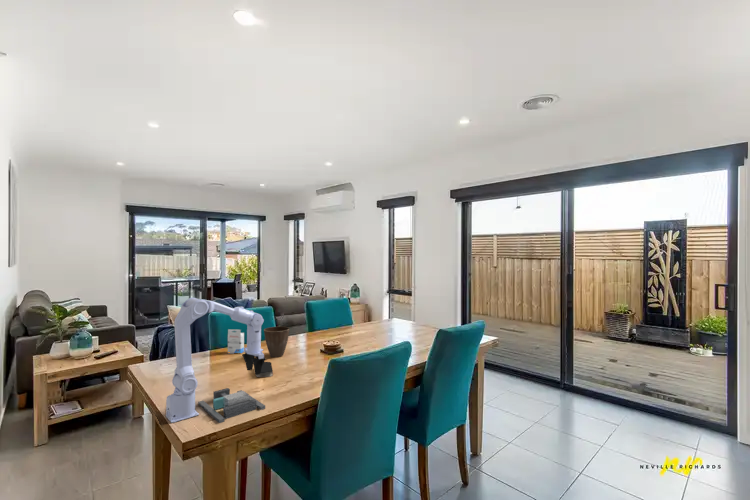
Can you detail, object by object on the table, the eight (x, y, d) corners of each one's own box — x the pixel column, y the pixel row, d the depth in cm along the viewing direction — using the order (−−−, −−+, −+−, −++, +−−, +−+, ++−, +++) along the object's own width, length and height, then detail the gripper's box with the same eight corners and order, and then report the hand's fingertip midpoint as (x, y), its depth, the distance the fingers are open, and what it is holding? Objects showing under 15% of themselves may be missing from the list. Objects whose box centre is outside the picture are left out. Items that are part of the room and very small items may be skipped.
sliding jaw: (215, 409, 141) (215, 400, 141) (205, 402, 148) (205, 393, 148) (244, 401, 150) (244, 392, 150) (234, 394, 157) (234, 386, 157)
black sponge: (254, 369, 192) (255, 362, 192) (271, 367, 195) (271, 360, 195) (255, 379, 177) (255, 371, 177) (273, 377, 180) (273, 370, 180)
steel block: (228, 415, 137) (228, 399, 137) (223, 411, 140) (223, 396, 140) (248, 409, 142) (248, 394, 142) (243, 405, 146) (243, 390, 146)
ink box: (244, 351, 225) (244, 328, 225) (240, 353, 220) (240, 329, 220) (231, 351, 225) (231, 327, 226) (227, 353, 220) (227, 329, 221)
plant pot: (258, 357, 212) (258, 330, 212) (272, 351, 226) (272, 325, 226) (280, 360, 207) (281, 332, 207) (293, 353, 221) (294, 327, 222)
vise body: (219, 423, 131) (219, 413, 131) (198, 404, 146) (198, 396, 146) (265, 408, 143) (265, 399, 143) (241, 392, 159) (241, 384, 159)
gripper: (270, 342, 154) (270, 374, 154) (255, 336, 164) (254, 366, 164) (254, 344, 149) (254, 377, 149) (239, 338, 160) (239, 369, 159)
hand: (253, 372), depth 156 cm, fingers open, 7 cm apart
